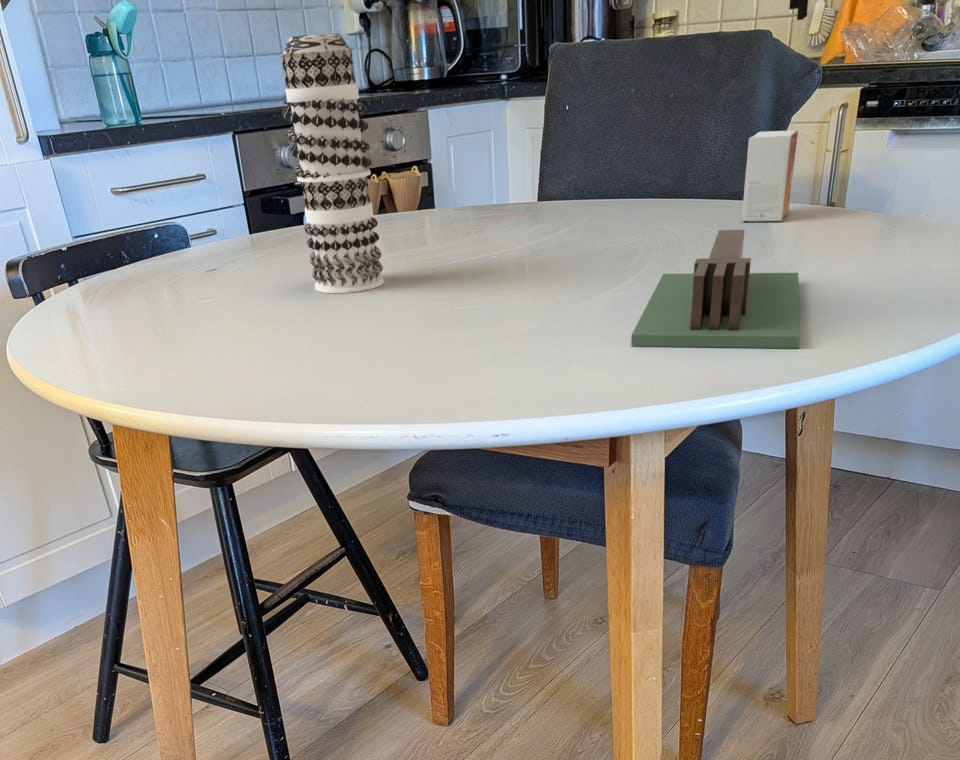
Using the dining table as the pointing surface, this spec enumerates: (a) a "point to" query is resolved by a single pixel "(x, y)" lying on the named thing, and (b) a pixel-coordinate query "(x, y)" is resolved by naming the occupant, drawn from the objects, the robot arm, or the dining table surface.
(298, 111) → the decorative candle
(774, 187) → the small box
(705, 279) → the fork
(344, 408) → the dining table surface
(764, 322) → the mat
